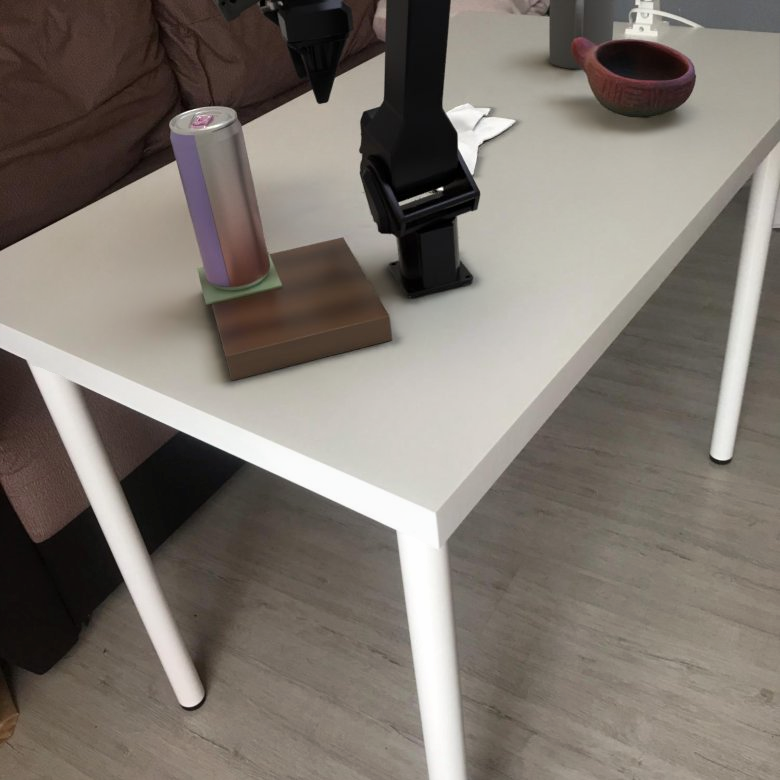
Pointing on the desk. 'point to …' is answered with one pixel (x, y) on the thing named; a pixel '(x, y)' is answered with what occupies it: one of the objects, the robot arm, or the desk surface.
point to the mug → (578, 27)
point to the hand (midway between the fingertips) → (312, 89)
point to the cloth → (474, 130)
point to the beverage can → (220, 196)
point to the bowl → (635, 75)
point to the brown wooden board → (298, 310)
